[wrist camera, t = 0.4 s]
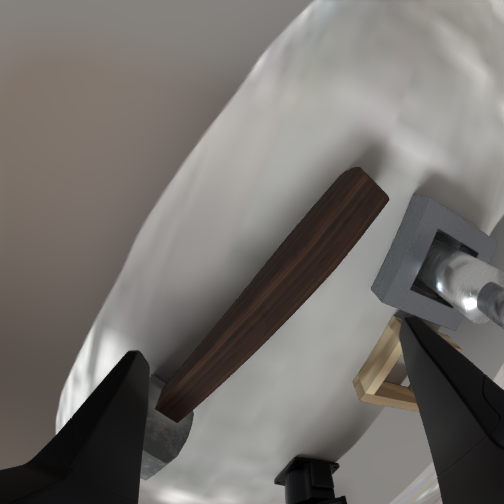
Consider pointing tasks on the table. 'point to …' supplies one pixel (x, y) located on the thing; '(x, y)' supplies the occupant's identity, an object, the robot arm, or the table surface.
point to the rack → (387, 372)
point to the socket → (414, 252)
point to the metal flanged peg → (464, 283)
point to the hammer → (260, 310)
